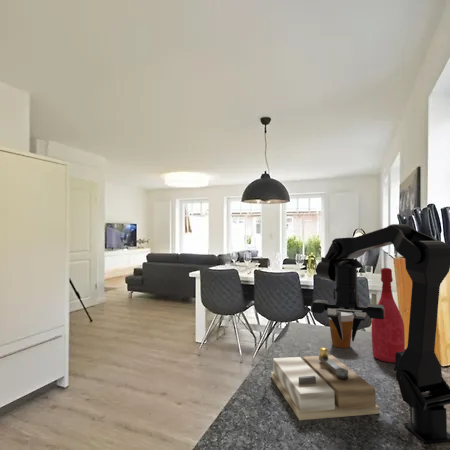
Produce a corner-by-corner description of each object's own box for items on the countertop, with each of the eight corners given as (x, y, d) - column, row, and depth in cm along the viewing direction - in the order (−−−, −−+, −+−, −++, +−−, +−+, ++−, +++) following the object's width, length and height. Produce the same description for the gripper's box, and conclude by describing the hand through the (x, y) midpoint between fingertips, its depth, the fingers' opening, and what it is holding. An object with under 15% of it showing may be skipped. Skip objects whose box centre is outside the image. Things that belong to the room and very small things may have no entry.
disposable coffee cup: (322, 343, 126) (321, 311, 127) (341, 340, 130) (340, 309, 131) (340, 351, 118) (340, 317, 118) (360, 347, 122) (359, 314, 122)
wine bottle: (386, 365, 104) (384, 269, 106) (365, 354, 114) (363, 267, 115) (412, 362, 107) (409, 268, 108) (389, 352, 116) (387, 266, 118)
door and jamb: (379, 413, 76) (378, 382, 76) (299, 420, 74) (299, 388, 74) (333, 373, 99) (332, 349, 99) (271, 377, 96) (270, 352, 97)
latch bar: (350, 379, 81) (350, 364, 81) (339, 379, 80) (339, 365, 81) (326, 359, 94) (326, 347, 94) (317, 360, 93) (317, 347, 94)
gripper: (384, 281, 95) (385, 336, 94) (318, 278, 104) (318, 329, 103) (383, 286, 85) (384, 348, 85) (309, 282, 94) (310, 338, 93)
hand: (347, 340), depth 92 cm, fingers open, 3 cm apart
